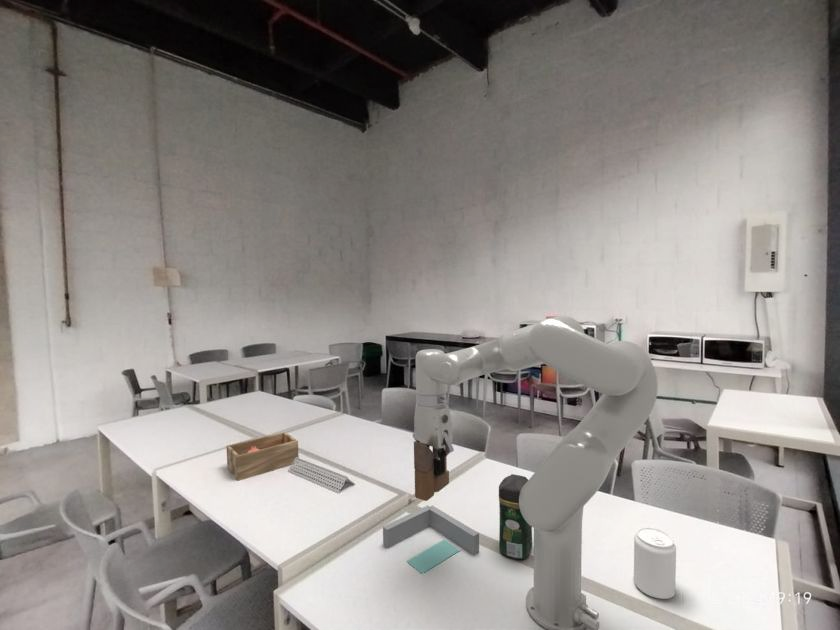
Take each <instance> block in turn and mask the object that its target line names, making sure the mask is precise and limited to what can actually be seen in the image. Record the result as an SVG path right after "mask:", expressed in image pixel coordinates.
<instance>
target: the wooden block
mask: <svg viewBox="0 0 840 630" xmlns="http://www.w3.org/2000/svg"><path fill="white" fill-rule="evenodd" d="M440 452H441V449H439V453H440ZM413 459H414V460H413V468H414V497H415V498H416V499H419V500H422V501H425V502H428V501H429V500H430V499H431V498H433V497H434V496H435V493H439V492H440V491H441V490H443V489H444V488H445V487H446V486H448V485H449V484H450V471H449V470H447V469H448V468H447V461H448V459H447V457H446V458H445V472H444V473H442V474H440V475H438V476H435V475H434V459H436V458H435V452H434V447H432V449H430V448H429V447H428V446H427V445H426V444H424V443H420V442H416V441H415V440H414V441H413Z"/></svg>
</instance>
